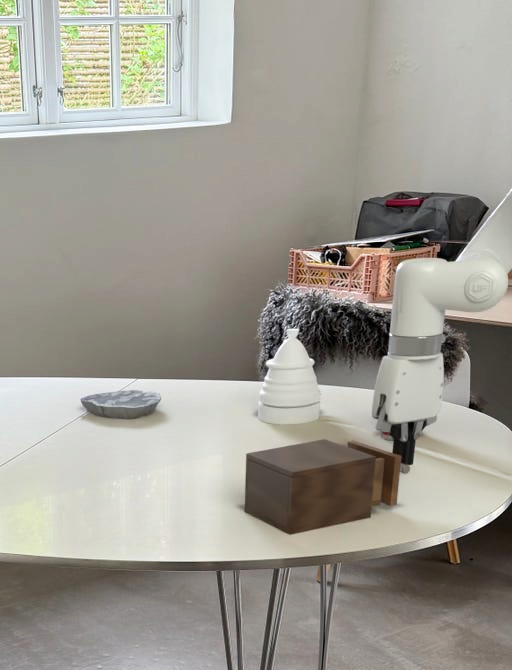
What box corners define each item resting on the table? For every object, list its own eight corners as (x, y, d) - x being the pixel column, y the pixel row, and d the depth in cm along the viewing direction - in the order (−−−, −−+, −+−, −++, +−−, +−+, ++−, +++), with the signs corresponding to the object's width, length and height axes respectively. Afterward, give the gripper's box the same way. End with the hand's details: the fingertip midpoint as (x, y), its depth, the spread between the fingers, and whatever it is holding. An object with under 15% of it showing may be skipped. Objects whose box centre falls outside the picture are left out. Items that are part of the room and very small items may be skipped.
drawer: (371, 482, 159) (375, 436, 155) (419, 500, 149) (424, 451, 145) (280, 500, 154) (282, 453, 150) (323, 520, 144) (326, 470, 140)
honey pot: (259, 410, 213) (262, 327, 205) (319, 409, 210) (324, 325, 202) (256, 424, 202) (259, 337, 194) (319, 424, 199) (324, 335, 191)
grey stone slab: (180, 407, 221) (180, 394, 220) (134, 423, 211) (134, 410, 209) (115, 399, 234) (115, 387, 233) (69, 414, 223) (68, 401, 222)
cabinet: (321, 496, 157) (324, 439, 153) (370, 517, 146) (376, 456, 142) (244, 511, 153) (245, 453, 148) (289, 534, 142) (292, 472, 138)
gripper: (437, 337, 149) (423, 451, 158) (357, 348, 145) (348, 465, 153) (472, 343, 143) (456, 461, 151) (390, 355, 139) (378, 476, 147)
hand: (402, 463), depth 152 cm, fingers closed
